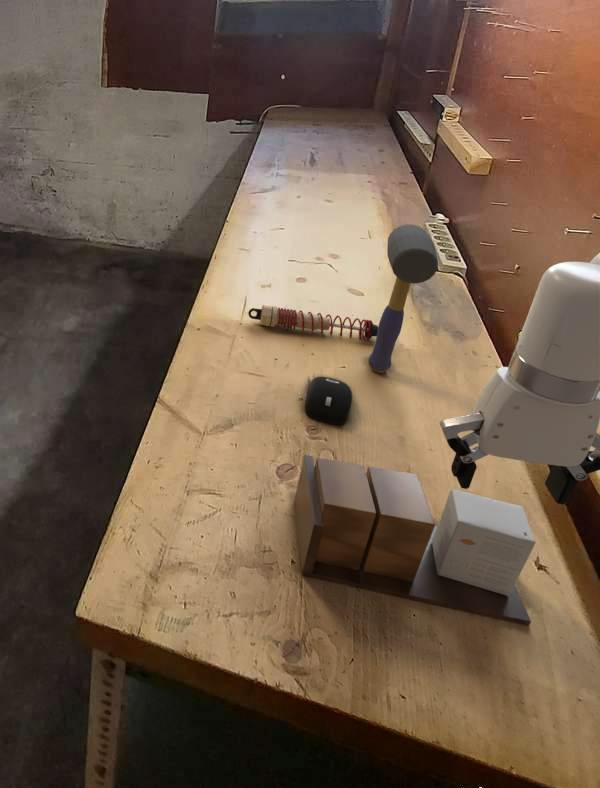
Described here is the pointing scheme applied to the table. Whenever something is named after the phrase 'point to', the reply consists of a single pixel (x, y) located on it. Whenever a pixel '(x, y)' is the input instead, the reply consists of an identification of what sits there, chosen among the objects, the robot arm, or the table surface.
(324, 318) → the shock absorber
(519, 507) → the small box
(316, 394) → the portable bluetooth speaker
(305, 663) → the table surface
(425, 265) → the rubber mallet
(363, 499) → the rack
